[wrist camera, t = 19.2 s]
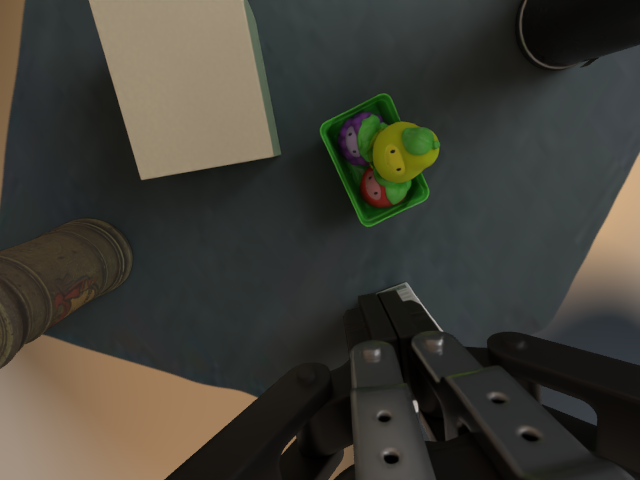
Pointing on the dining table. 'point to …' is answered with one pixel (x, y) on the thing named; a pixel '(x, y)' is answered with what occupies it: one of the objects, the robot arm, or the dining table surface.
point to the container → (57, 278)
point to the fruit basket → (380, 158)
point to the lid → (184, 82)
